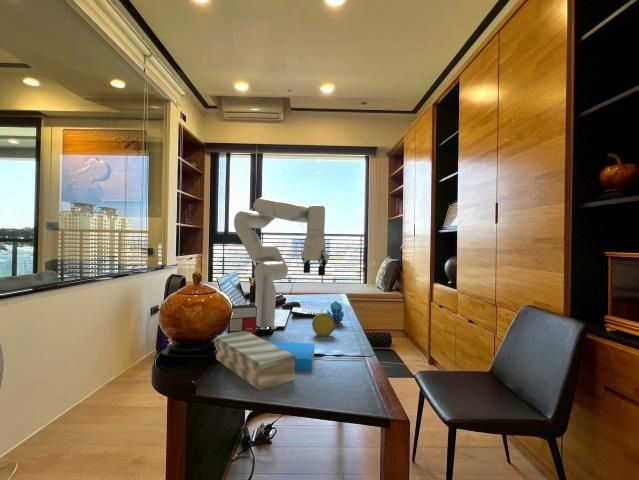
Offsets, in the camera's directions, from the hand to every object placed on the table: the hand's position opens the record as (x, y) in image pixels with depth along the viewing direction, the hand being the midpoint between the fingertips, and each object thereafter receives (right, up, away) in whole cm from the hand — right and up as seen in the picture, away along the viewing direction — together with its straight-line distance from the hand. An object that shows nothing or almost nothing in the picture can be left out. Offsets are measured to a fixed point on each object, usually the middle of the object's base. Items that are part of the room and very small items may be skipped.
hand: (313, 274), depth 136 cm
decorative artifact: (+4, -29, +10) cm, 30 cm away
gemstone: (+10, -29, +26) cm, 40 cm away
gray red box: (-29, -27, -7) cm, 41 cm away
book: (-12, -29, -23) cm, 39 cm away
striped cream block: (-20, -28, -31) cm, 46 cm away
